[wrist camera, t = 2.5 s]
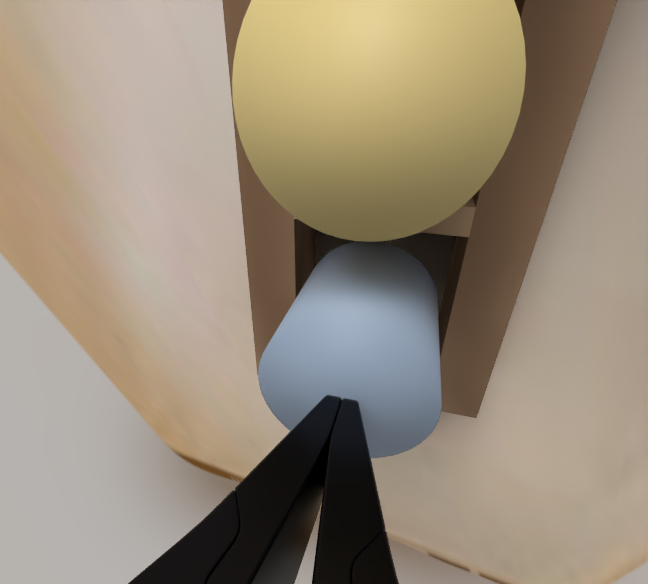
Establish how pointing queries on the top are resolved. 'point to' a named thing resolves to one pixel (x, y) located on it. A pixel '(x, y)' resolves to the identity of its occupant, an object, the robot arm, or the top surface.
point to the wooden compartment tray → (468, 221)
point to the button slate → (361, 346)
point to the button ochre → (377, 107)
